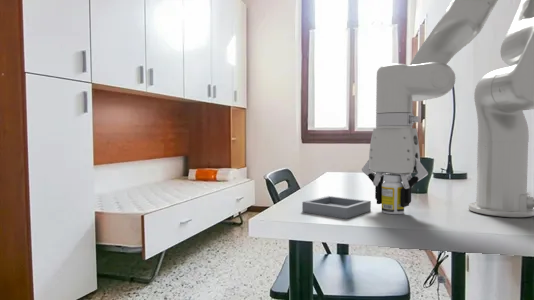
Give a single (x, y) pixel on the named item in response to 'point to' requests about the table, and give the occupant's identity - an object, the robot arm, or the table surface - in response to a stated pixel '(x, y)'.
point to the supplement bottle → (392, 194)
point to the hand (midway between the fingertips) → (392, 203)
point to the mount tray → (336, 207)
